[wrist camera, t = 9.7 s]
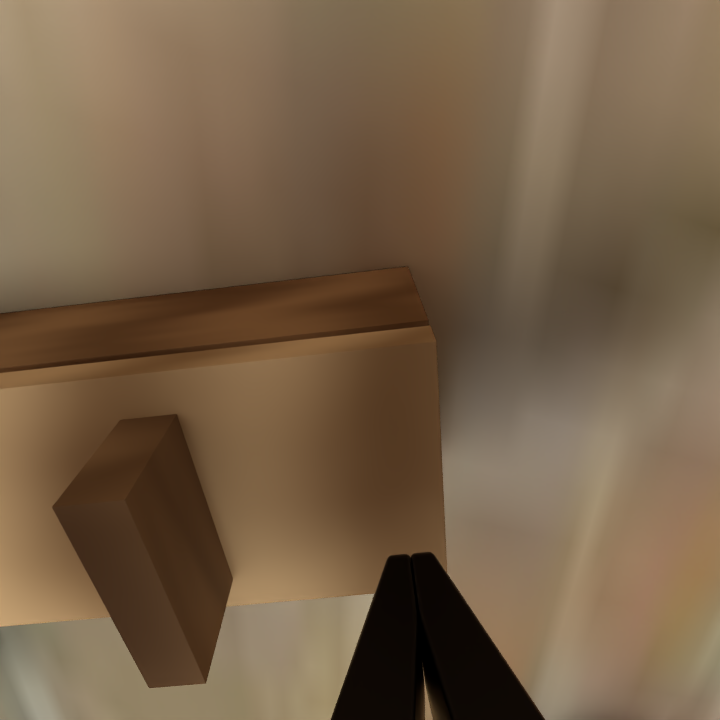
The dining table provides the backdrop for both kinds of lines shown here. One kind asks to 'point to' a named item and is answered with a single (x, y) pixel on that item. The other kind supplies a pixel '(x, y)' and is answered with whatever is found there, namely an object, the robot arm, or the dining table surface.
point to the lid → (215, 485)
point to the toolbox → (210, 319)
